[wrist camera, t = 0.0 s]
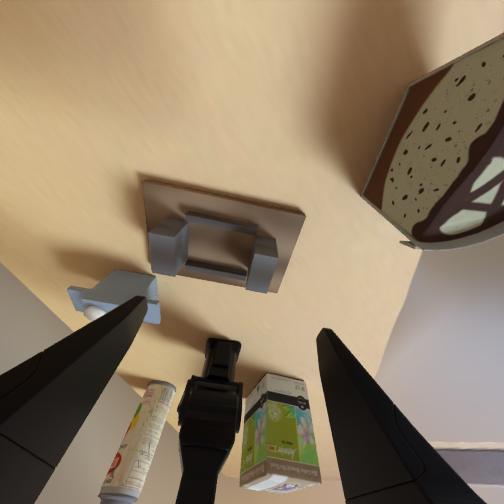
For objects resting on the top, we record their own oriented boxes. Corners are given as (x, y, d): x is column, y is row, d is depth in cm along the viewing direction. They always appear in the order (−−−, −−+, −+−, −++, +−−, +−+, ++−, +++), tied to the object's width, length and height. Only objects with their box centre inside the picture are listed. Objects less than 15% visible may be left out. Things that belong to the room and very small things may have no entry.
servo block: (173, 298, 30) (153, 334, 24) (103, 285, 29) (65, 320, 23) (173, 279, 28) (150, 314, 22) (97, 265, 27) (54, 298, 21)
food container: (406, 216, 21) (505, 268, 13) (354, 209, 21) (418, 257, 12) (493, 71, 15) (819, -26, 6) (419, 58, 14) (646, -59, 6)
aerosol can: (150, 378, 44) (81, 527, 27) (178, 385, 45) (128, 532, 28) (147, 389, 48) (82, 529, 30) (173, 395, 49) (125, 533, 32)
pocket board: (276, 288, 28) (279, 317, 23) (155, 266, 26) (133, 291, 22) (304, 213, 21) (315, 232, 17) (147, 179, 20) (114, 190, 16)
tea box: (264, 371, 40) (266, 476, 28) (306, 380, 42) (325, 485, 29) (244, 398, 48) (238, 491, 35) (280, 405, 49) (286, 497, 36)
